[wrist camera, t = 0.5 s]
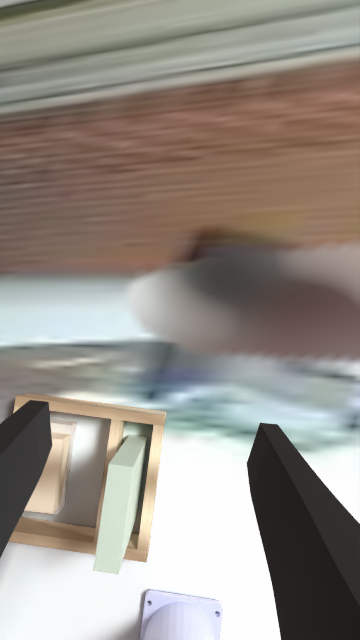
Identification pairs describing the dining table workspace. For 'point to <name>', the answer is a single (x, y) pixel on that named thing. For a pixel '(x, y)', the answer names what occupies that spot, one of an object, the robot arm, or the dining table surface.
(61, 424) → the offcut lower
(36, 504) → the offcut upper
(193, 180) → the dining table surface
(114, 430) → the rack
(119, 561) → the pale green slab
